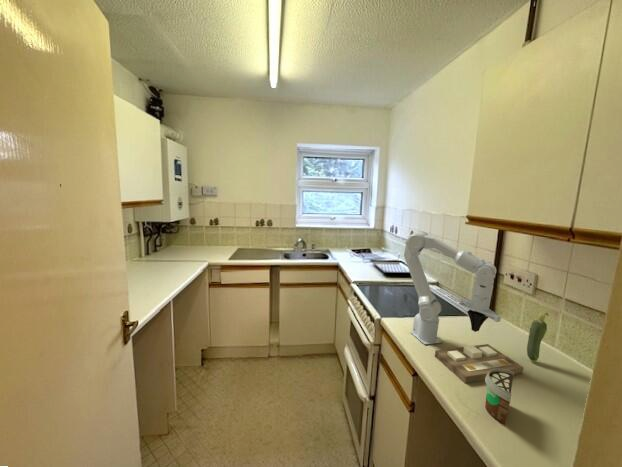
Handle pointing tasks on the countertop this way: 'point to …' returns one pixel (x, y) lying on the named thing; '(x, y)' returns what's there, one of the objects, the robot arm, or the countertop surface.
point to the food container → (498, 393)
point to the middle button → (472, 352)
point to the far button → (488, 351)
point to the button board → (477, 364)
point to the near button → (456, 355)
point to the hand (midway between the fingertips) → (475, 330)
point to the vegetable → (536, 337)
